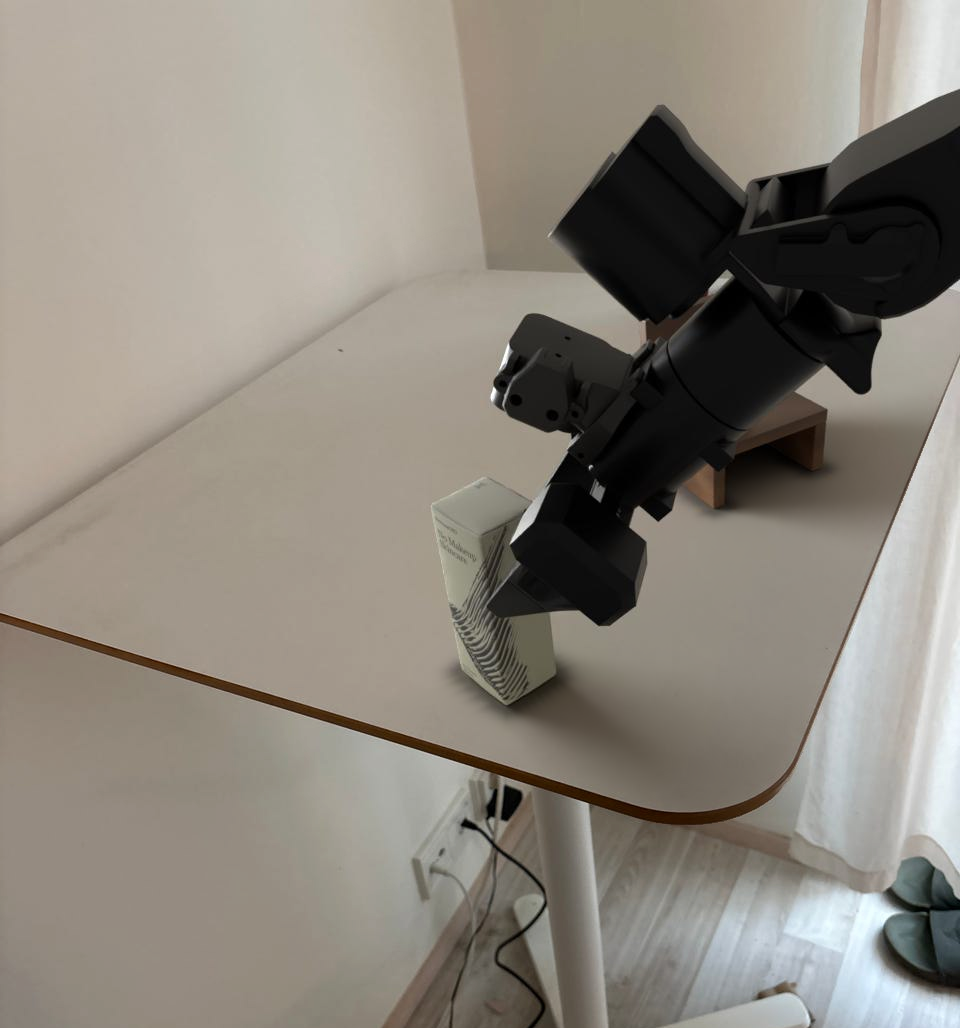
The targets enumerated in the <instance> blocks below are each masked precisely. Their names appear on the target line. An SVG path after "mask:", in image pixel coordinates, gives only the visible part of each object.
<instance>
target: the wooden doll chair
mask: <svg viewBox="0 0 960 1028" xmlns="http://www.w3.org/2000/svg"><path fill="white" fill-rule="evenodd" d="M714 294H715V293H712V294H708V296H706V297H703V298H700V299H699V300H698V301H697V302H696V303H695V304H694V305H693V306H692V307H691V308H690V309H689V310H688V311H686V312H685V313H684V314H683V315H682V316H680V317H679V318H677V319H675V320H672V319H671V318H670V317H669V316H667V317H666V318H665V319H664V320H663V321H662V322H660V323H659V324H658V325H655V324H654V323H653V322H652V321H650V320H649V319H648V318H647V319H645V320H643V321H641V322H640V321H638V325H639V348H640V347H641V346H642V345H643V344H644V343H645V342H646V341H647V340H649V339H651V340H652V341H653V342H655V341H656V340H657V339H658V338H659V337H661V338H663V339H664V340H665V341H668V340H669V339H670V338H671V336H672V335H673V334H674V333H675V332H676V331H677V330H678V329H679V328H680V327H681V326H682V325H683V324H684V323H686V322H687V321H688V320H689V319H690V318H691V317H692V316H693V315H694V314H695V313H696V312H697V311H698V310H699V309H700V308H701V307H702V306H703V305H704V304H705V303H706V302H707V301H708V300H709V299H710V298H711V297H712V296H713V295H714ZM828 410H829V409H828V408H826V407H824V406H822V405H820V404H819V403H817V402H816V401H813V400H811V399H809V398H807V397H805V396H804V395H802V394H800V393H798V392H796V391H795V392H793V393H792V394H791V395H790V396H789V397H787V398H786V399H785V400H784V401H783V402H781V403H780V404H779V405H778V406H777V407H775V408H774V409H773V410H772V411H771V412H770V413H768V414H767V415H766V416H765V417H764V418H762V419H761V420H760V421H759V422H758V423H756V424H755V425H754V426H753V427H752V428H751V429H749V430H748V431H747V432H746V433H745V434H743V435H742V436H741V437H740V438H739V439H738V440H737V446H736V451H735V455H738V454H741V453H744V452H747V451H749V450H752V449H754V448H758V447H760V446H763V445H766V444H767V445H769V446H770V447H772V448H774V449H775V450H777V451H778V452H780V453H782V454H783V455H785V456H786V457H788V458H790V459H792V460H793V461H795V462H796V463H798V464H800V465H801V466H803V467H804V468H805V469H807V470H810V471H811V472H814V471H817V470H819V469H822V468H823V465H824V454H825V453H824V452H825V444H826V443H825V441H826V432H827V431H826V429H827V420H828ZM682 487H684V488H685V489H687V490H688V491H689V492H690V493H692V494H694V496H696V497H697V498H698V499H699V500H701V501H702V502H704V503H705V504H707V505H708V506H709V507H710V508H712V509H717V508H719V507H724V505H725V499H726V498H725V493H726V489H725V488H726V467H724V468H723V469H722V470H721V471H720V472H717V471H716V470H715V469H713V468H712V467H711V466H710V465H709V464H708V465H707V466H705V467H704V468H703V469H702V470H701V471H699V472H698V473H697V474H696V475H695V476H693V477H692V478H691V479H690V480H689V481H687V482H686V483H685V484H684V485H683V486H682Z"/></svg>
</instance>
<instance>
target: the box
mask: <svg viewBox="0 0 960 1028" xmlns="http://www.w3.org/2000/svg"><path fill="white" fill-rule="evenodd" d="M532 502H533V500H532V499H529V498H527V497H526V496H524V495H522V494H521V493H519V492H517V491H516V490H514V489H513V488H510V487H509V486H506V485H504V484H503V483H500V482H499V481H497V480H495V479H493V478H491V477H490V476H488V475H487V476H484V477H481V478H479V479H477V480H475V481H473V482H472V483H470V484H468V485H465V486H464V487H462V488H460V489H458V490H456V491H455V492H452V493H450V494H449V495H448V494H447V495H446V496H445V497H442V498H441V499H438V500H437V501H435V502H433V503H431V504H430V510H431V516H432V521H433V526H434V531H435V536H436V541H437V547H438V553H439V557H440V562H441V568H442V572H443V578H444V583H445V588H446V589H445V590H446V593H447V594H446V595H447V598H448V604H449V610H450V614H451V620H452V626H453V631H454V632H453V633H454V636H455V642H456V647H457V652H458V657H459V663H460V667H461V670H462V671H463V672H464V673H465V674H466V675H467V676H469V678H471V680H473V681H474V682H475V683H477V684H478V685H479V686H480V687H481V688H483V689H484V690H485V691H486V692H487V693H489V694H490V695H491V696H493V698H495V699H497V700H498V701H499V702H500V703H502V704H503V705H505V706H508V705H510V704H512V703H514V702H516V701H517V700H519V699H520V698H522V697H524V696H526V695H527V694H529V693H530V692H532V691H533V690H536V688H538V687H539V686H541V685H542V684H544V683H546V682H547V681H548V680H550V679H552V678H553V677H555V676H557V675H556V674H557V667H556V657H555V648H554V639H553V638H554V637H553V631H552V621H551V612H547V613H539V614H531V615H524V616H516V617H508V618H498V617H497V616H495V615H494V614H493V613H491V612H490V611H489V610H488V609H487V608H486V604H487V602H488V601H489V599H490V598H491V596H492V595H493V593H494V592H495V590H496V589H497V588H498V586H499V585H500V583H501V582H502V581H503V579H504V578H505V576H506V575H507V574H508V572H509V571H510V570H511V568H512V567H513V565H514V564H515V563H516V561H517V560H516V559H515V557H514V555H513V552H512V550H511V548H510V542H511V540H512V536H513V533H514V531H515V529H516V527H517V525H518V523H519V520H520V518H521V516H522V514H523V512H524V510H525V509H528V508H529V506H530V505H531V504H532Z"/></svg>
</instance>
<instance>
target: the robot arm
mask: <svg viewBox="0 0 960 1028" xmlns="http://www.w3.org/2000/svg"><path fill="white" fill-rule="evenodd" d="M546 238H547V239H548V240H549V241H550V242H551V243H552V244H554V245H555V246H556V247H557V248H558V249H559V250H560V251H561V252H562V253H564V255H566V256H567V257H568V258H569V259H570V260H571V261H572V262H573V263H575V264H576V266H578V267H579V268H580V269H581V270H582V271H583V272H584V273H586V274H587V276H588V277H590V278H591V279H592V280H593V281H594V282H595V283H596V284H597V285H598V286H599V287H601V288H602V289H603V290H604V291H605V292H606V293H607V294H608V295H609V296H611V298H613V299H614V300H615V301H616V302H617V303H618V304H619V305H620V306H621V307H623V308H624V309H625V311H627V312H628V313H629V314H630V315H631V316H632V317H634V319H635V320H637V322H639V321H640V322H641V321H643V320H645V319H647V318H648V319H649V320H650V321H652V322H653V323H654V324H655V325H658V324H659V323H660V322H662V321H663V320H664V319H665V318H666V317H667V316H669V317H670V318H671V319H672V320H675V319H677V318H679V317H680V316H682V315H683V314H684V313H685V312H686V311H688V310H689V309H690V308H691V307H692V306H693V305H694V304H695V303H696V302H697V301H698V300H699V299H700V298H701V297H702V296H703V295H704V294H705V293H706V291H707V290H708V289H709V290H710V288H711V287H712V286H713V285H714V284H715V283H716V282H717V280H719V278H720V277H721V276H722V275H723V274H724V273H725V272H726V271H728V272H729V273H730V274H731V276H730V278H728V279H727V280H726V282H724V284H722V285H721V287H720V288H718V289H717V290H716V292H715V293H713V294H714V295H713V296H712V297H711V298H710V299H709V300H708V301H707V302H706V303H705V304H704V305H703V306H702V307H701V308H700V309H699V310H698V311H697V312H696V313H695V314H694V315H693V316H692V317H691V318H690V319H689V320H688V321H687V322H686V323H684V324H683V325H682V326H681V327H680V328H679V329H678V330H677V331H676V332H675V333H674V334H673V335H672V336H671V338H670V339H669V340H668V341H665V340H664V339H663V338H661V337H659V338H658V339H657V340H656V341H655V342H653V341H652V340H651V339H649V340H647V341H646V342H645V343H644V344H643V345H642V346H641V347H640V346H639V348H638V349H637V350H636V351H635V352H634V353H632V354H631V353H627V352H625V351H624V350H620V349H619V348H617V347H615V346H613V345H611V344H610V343H609V342H607V341H606V340H605V339H602V338H600V337H598V336H596V335H594V334H591V333H589V332H587V331H583V330H582V329H579V328H577V327H574V326H572V325H570V324H567V323H565V322H562V321H560V320H557V319H555V318H553V317H550V316H548V315H546V314H542V313H536V312H531V313H527V314H525V315H524V316H523V318H522V320H521V321H520V323H519V324H518V326H517V327H516V329H515V330H514V332H513V334H512V335H511V337H510V338H509V340H508V343H507V346H506V349H505V352H504V355H503V358H502V361H501V364H500V367H499V370H498V372H497V373H496V376H495V377H494V379H493V382H492V385H493V388H492V392H491V394H490V400H491V403H492V404H493V405H494V406H495V407H496V408H497V409H499V410H500V411H502V412H504V413H505V414H506V415H507V417H509V418H511V419H513V420H515V421H518V422H520V423H522V424H523V425H524V424H525V425H526V426H530V427H531V428H534V429H536V430H539V431H540V432H542V433H546V434H550V433H554V432H557V431H559V432H561V433H563V434H570V441H569V442H568V445H567V448H566V450H565V452H564V454H563V455H562V457H561V459H560V460H559V462H558V463H557V465H556V467H555V468H554V470H553V472H551V475H549V478H548V480H547V481H546V483H545V485H544V486H543V487H542V489H541V490H540V491H539V494H538V495H537V496H536V497H535V498H534V499H533V500H532V504H531V505H530V506H529V508H528V509H525V510H524V512H523V514H522V516H521V518H520V520H519V523H518V525H517V527H516V529H515V531H514V533H513V536H512V540H511V542H510V548H511V550H512V552H513V555H514V557H515V559H516V560H517V561H516V563H515V564H514V565H513V567H512V568H511V570H510V571H509V572H508V574H507V575H506V576H505V578H504V579H503V581H502V582H501V583H500V585H499V586H498V588H497V589H496V590H495V592H494V593H493V595H492V596H491V598H490V599H489V601H488V602H487V604H486V608H487V609H488V610H489V611H490V612H491V613H493V614H494V615H495V616H497V617H498V618H508V617H516V616H524V615H531V614H539V613H547V612H550V613H554V612H555V613H556V612H580V613H581V614H582V615H584V616H585V617H586V618H588V619H589V620H590V621H591V622H593V623H594V624H595V625H596V626H597V627H610V626H612V625H613V624H614V623H616V622H617V621H618V620H620V619H621V618H622V617H624V616H625V615H626V614H628V613H629V612H630V611H632V610H633V609H634V608H636V607H637V605H638V601H639V596H640V593H641V589H642V586H643V582H644V578H645V574H646V570H647V568H648V543H647V541H646V539H644V538H643V537H642V536H641V535H639V534H638V533H637V532H636V531H635V530H633V528H631V527H630V526H631V523H632V520H633V516H634V513H635V510H636V509H637V508H638V507H640V508H641V509H642V510H643V511H645V512H646V514H648V515H649V516H650V517H651V518H652V519H654V520H655V521H656V522H657V523H659V522H660V521H662V520H663V519H664V518H665V517H666V516H668V515H669V514H670V513H672V511H673V509H674V505H675V501H676V497H677V493H678V490H679V489H680V488H682V487H684V486H683V485H684V484H685V483H686V482H687V481H689V480H690V479H691V478H692V477H693V476H695V475H696V474H697V473H698V472H699V471H701V470H702V469H703V468H704V467H705V466H707V465H708V464H709V465H710V466H711V467H712V468H713V469H715V470H716V471H717V472H720V471H721V470H722V469H723V468H724V467H725V468H727V466H728V465H729V464H731V463H732V462H733V461H734V460H735V451H736V446H737V440H738V439H739V438H740V437H741V436H742V435H743V434H745V433H746V432H747V431H748V430H749V429H751V428H752V427H753V426H754V425H755V424H756V423H758V422H759V421H760V420H761V419H762V418H764V417H765V416H766V415H767V414H768V413H770V412H771V411H772V410H773V409H774V408H775V407H777V406H778V405H779V404H780V403H781V402H783V401H784V400H785V399H786V398H787V397H789V396H790V395H791V394H792V393H793V392H796V391H797V390H798V389H800V387H802V386H803V385H804V384H805V383H807V382H808V381H809V380H810V379H811V378H813V377H814V376H815V375H816V374H817V373H818V372H819V371H821V370H822V369H824V367H827V368H828V369H829V370H831V372H832V373H833V374H834V375H835V376H837V378H839V379H840V380H841V381H842V382H843V383H844V384H845V385H846V386H847V387H848V388H849V389H850V391H852V392H853V393H854V394H856V395H860V396H862V395H863V396H864V395H866V394H868V393H869V392H870V391H871V389H872V388H873V387H872V386H873V377H872V370H873V362H874V357H875V353H876V350H877V347H878V345H879V342H880V340H881V338H882V337H883V326H882V320H890V319H895V318H900V317H903V316H905V315H908V314H910V313H913V312H916V311H917V310H920V309H921V308H925V307H926V306H927V305H929V304H930V303H932V302H933V301H935V300H936V299H937V298H939V297H940V296H941V295H943V294H944V293H945V292H946V291H947V290H949V289H950V288H951V287H952V286H954V285H955V284H956V283H957V282H959V281H960V88H958V89H955V90H953V91H950V92H947V93H944V94H942V95H940V96H937V97H935V98H933V99H931V100H929V101H926V102H924V103H923V104H921V105H919V106H917V107H915V108H913V109H912V110H909V111H908V112H905V113H904V114H902V115H900V116H898V117H896V118H894V119H892V120H890V121H888V122H887V123H884V124H883V125H881V126H879V127H876V128H875V129H872V130H871V131H869V132H867V133H865V134H864V135H861V136H860V137H858V138H856V139H855V140H853V141H852V142H850V143H849V144H848V145H847V146H846V147H845V148H843V150H842V151H841V152H839V154H838V155H836V156H835V157H834V158H833V159H832V160H831V161H830V162H827V163H822V164H816V165H812V166H808V167H807V166H806V167H803V168H799V169H794V170H790V171H783V172H779V173H775V174H771V175H766V176H761V177H756V178H753V179H751V180H750V181H748V183H747V184H746V186H745V189H742V187H740V186H739V185H738V183H736V181H734V180H733V178H732V177H730V176H729V175H728V174H727V173H726V172H725V171H724V170H723V169H722V168H721V167H720V166H719V165H718V164H717V163H716V162H715V160H713V159H712V158H711V157H710V156H709V155H708V154H707V153H706V152H705V151H704V150H703V149H702V148H701V147H700V146H699V144H697V143H696V142H695V140H694V139H693V138H692V135H691V134H690V133H689V131H688V129H687V127H686V126H685V125H684V123H683V122H682V121H681V120H680V119H679V118H678V117H677V116H676V114H674V113H673V111H671V109H669V108H668V107H667V106H666V105H665V104H657V105H656V106H655V107H654V108H653V109H652V111H650V113H649V114H648V115H647V117H646V118H645V119H644V120H643V122H642V123H641V124H640V125H639V126H638V127H637V129H635V130H634V132H633V133H632V134H631V135H630V137H628V139H627V140H626V141H625V143H624V144H623V145H622V146H621V147H620V148H619V150H618V151H617V152H616V153H615V152H614V151H611V152H610V154H608V155H607V157H606V158H605V160H604V161H602V163H601V165H600V166H599V167H598V168H597V170H596V171H595V172H594V173H593V175H592V176H591V177H590V179H589V180H588V181H587V182H586V184H585V185H584V186H583V188H582V189H581V190H580V191H579V193H578V194H576V196H575V198H574V199H573V201H572V202H571V203H570V204H569V205H568V207H567V208H566V209H565V210H564V212H563V213H562V215H561V216H560V217H559V218H558V219H557V221H556V223H554V225H553V226H552V228H551V229H550V230H549V232H548V234H547V235H546Z"/></svg>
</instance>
